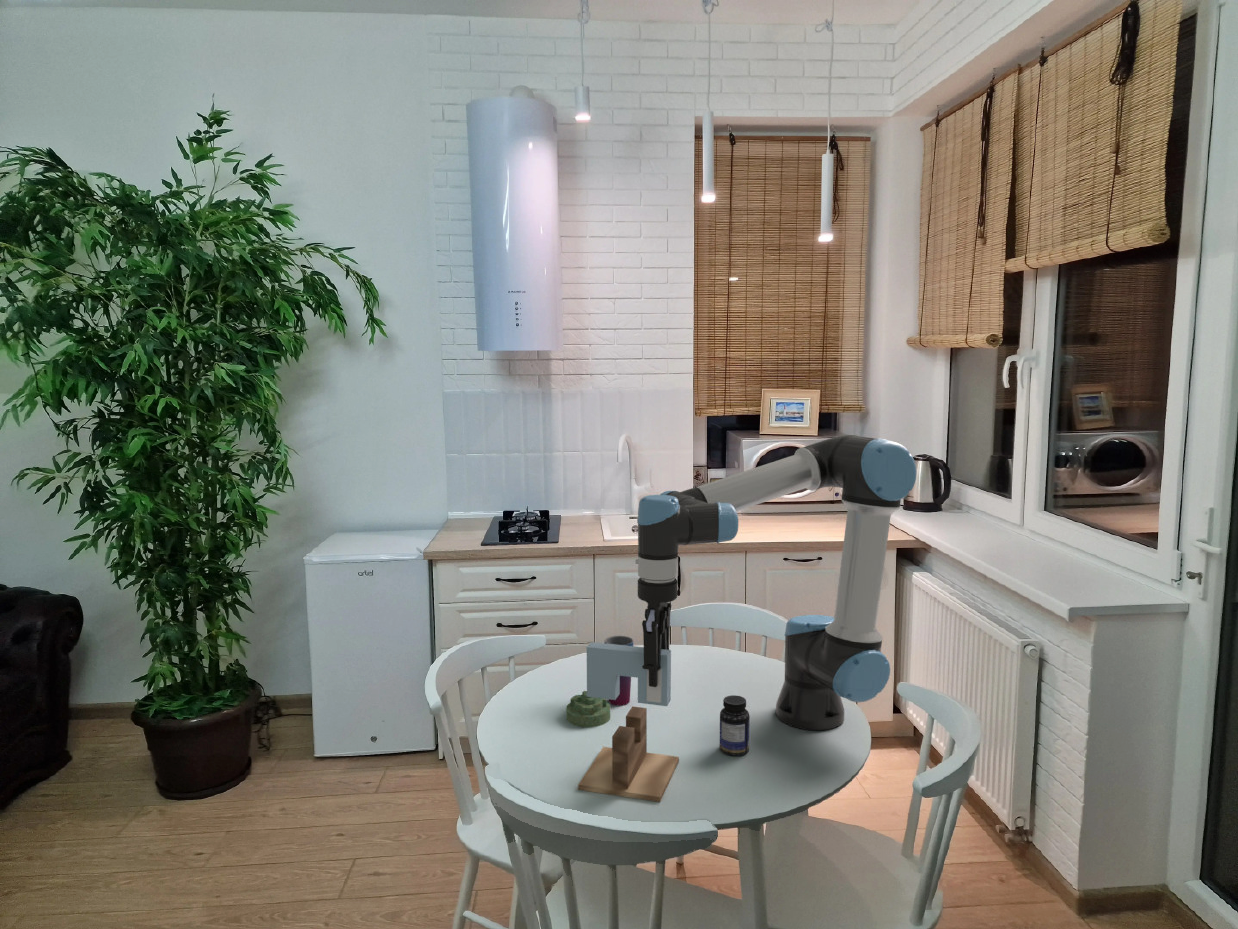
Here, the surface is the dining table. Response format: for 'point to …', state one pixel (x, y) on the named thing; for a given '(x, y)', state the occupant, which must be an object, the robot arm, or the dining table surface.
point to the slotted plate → (623, 671)
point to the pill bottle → (734, 726)
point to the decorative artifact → (587, 711)
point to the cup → (624, 680)
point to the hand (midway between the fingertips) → (656, 697)
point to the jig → (630, 764)
